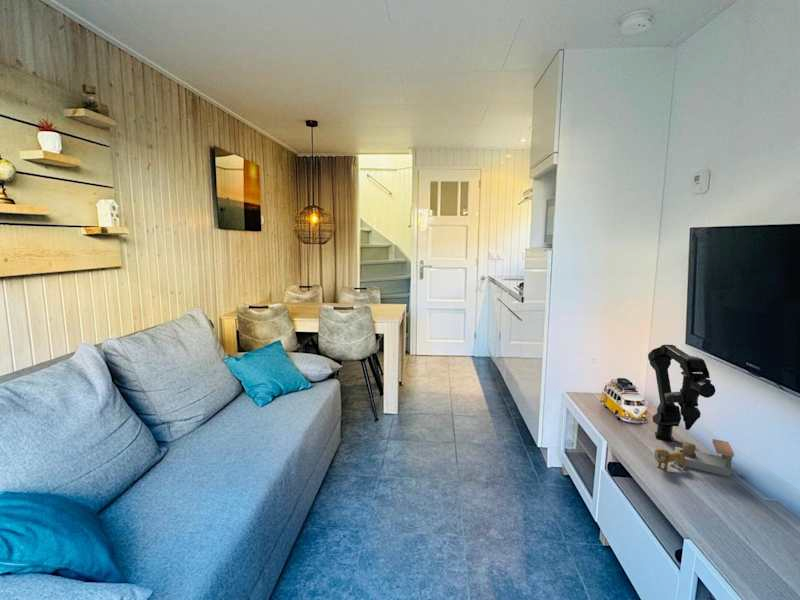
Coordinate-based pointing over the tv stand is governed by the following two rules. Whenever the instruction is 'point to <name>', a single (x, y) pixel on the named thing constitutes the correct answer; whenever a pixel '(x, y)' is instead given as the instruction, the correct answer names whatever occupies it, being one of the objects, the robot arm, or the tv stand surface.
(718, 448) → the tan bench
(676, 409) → the robot arm
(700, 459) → the socket block
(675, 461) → the lion figurine
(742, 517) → the tv stand surface
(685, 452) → the peg
